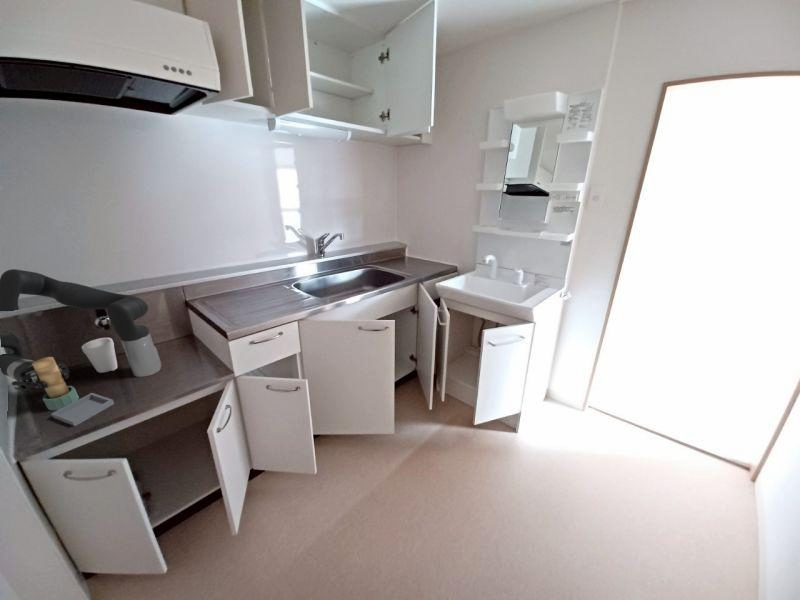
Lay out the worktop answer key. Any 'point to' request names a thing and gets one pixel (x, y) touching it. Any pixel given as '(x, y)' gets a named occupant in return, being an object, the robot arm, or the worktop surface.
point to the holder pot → (61, 399)
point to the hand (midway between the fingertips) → (56, 380)
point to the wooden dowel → (51, 377)
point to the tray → (82, 409)
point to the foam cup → (101, 354)
